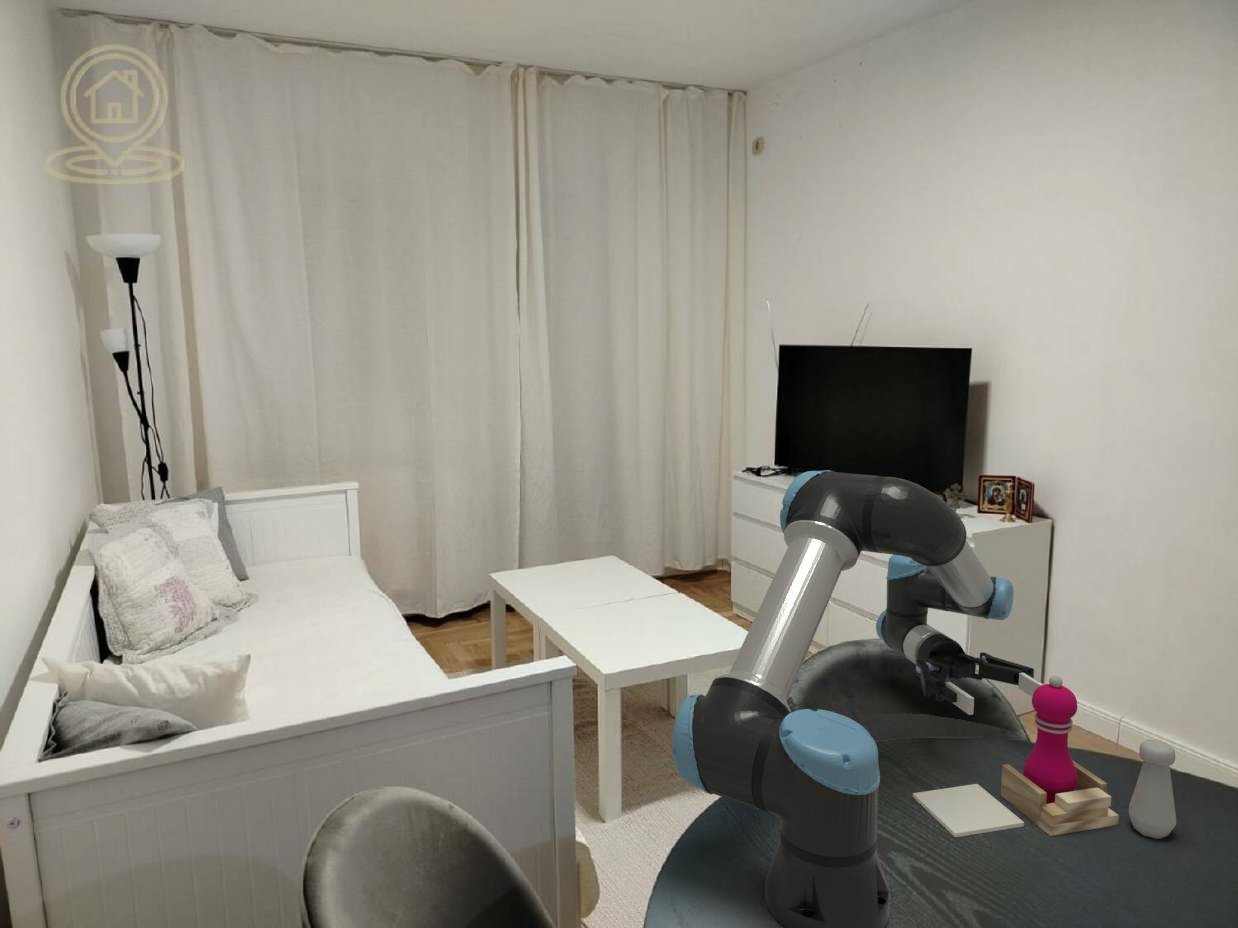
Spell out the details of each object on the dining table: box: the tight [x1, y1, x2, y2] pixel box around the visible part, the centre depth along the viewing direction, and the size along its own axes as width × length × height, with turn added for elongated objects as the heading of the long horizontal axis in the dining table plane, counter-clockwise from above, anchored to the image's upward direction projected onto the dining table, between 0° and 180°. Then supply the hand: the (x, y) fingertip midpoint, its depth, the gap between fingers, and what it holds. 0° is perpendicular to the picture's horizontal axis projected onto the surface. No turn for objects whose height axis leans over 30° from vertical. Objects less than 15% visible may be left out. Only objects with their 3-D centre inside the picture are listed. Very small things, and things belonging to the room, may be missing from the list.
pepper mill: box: [1022, 674, 1078, 804], centre depth 130 cm, size 7×7×20 cm
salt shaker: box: [1128, 739, 1177, 840], centre depth 123 cm, size 6×6×13 cm
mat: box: [912, 783, 1025, 838], centre depth 130 cm, size 11×11×1 cm
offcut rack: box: [1000, 759, 1120, 837], centre depth 130 cm, size 11×11×5 cm
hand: (1010, 701), depth 139 cm, fingers open, 13 cm apart
